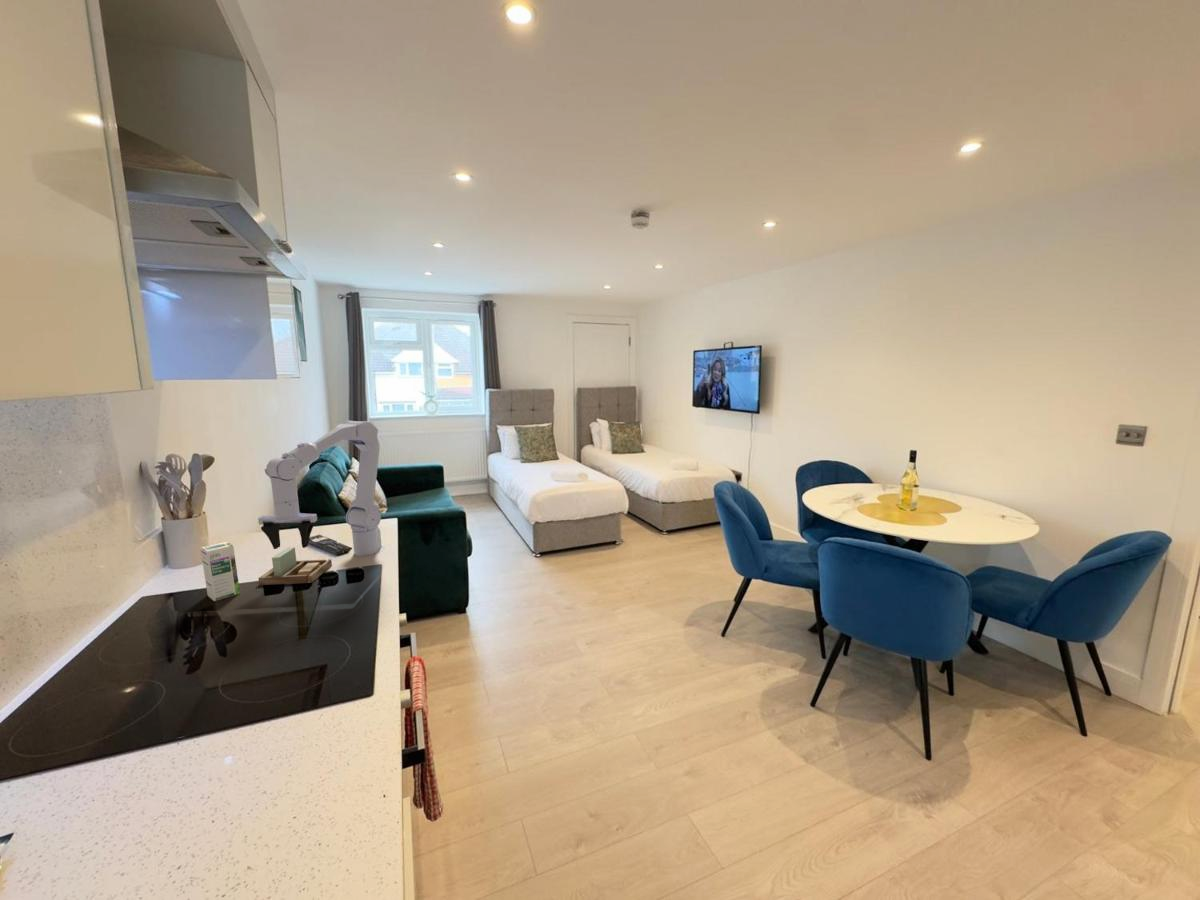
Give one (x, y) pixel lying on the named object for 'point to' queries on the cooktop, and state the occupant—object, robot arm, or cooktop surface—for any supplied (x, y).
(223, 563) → the syrup box
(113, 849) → the cooktop surface
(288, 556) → the pale green flat block
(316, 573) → the rack
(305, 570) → the offcut stack
